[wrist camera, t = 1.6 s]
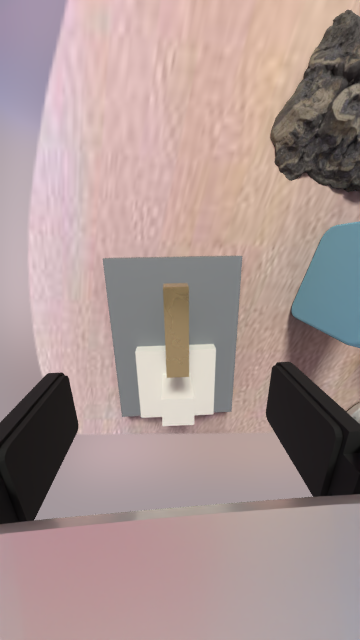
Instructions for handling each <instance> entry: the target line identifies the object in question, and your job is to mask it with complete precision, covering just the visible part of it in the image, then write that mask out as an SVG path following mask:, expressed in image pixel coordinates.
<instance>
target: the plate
mask: <svg viewBox="0 0 360 640" xmlns="http://www.w3.org/2000/svg"><path fill="white" fill-rule="evenodd" d="M103 265H104V273H105V281H106V290H107V298H108V306H109V314H110V322H111V330H112V338H113V346H114V355H115V363H116V371H117V379H118V387H119V395H120V403H121V412H122V417H127V416H141V411H140V400H139V389H138V377H137V366H136V355H135V351H136V348H137V347H140V346H165V326H164V302H163V284H167V283H187V284H188V286H189V345H198V344H214V346H215V348H216V361H215V387H214V412H231V410H232V396H233V381H234V367H235V353H236V339H237V324H238V310H239V296H240V281H241V267H242V256H196V257H141V258H105V259H103Z"/></svg>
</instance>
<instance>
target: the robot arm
mask: <svg viewBox="0 0 360 640" xmlns="http://www.w3.org/2000/svg"><path fill="white" fill-rule="evenodd" d="M266 417H267V420H268V422H269V423H270V425H271V427H272V428H273V430H274V432H275V434H276V435H277V437H278V439H279V440H280V442H281V444H282V445H283V447H284V448H285V450H286V452H287V454H288V455H289V457H290V459H291V460H292V462H293V464H294V465H295V467H296V469H297V470H298V472H299V474H300V475H301V477H302V479H303V480H304V482H305V484H306V485H307V487H308V489H309V490H310V492H311V494H312V495H313V497H305V498H292V499H279V500H266V501H253V502H240V503H228V504H215V505H204V506H192V507H180V508H167V509H155V510H144V511H132V512H121V513H111V514H99V515H88V516H76V517H65V518H54V519H44V520H35V521H34V519H35V517H36V515H37V513H38V511H39V509H40V507H41V505H42V503H43V501H44V499H45V497H46V495H47V493H48V491H49V489H50V487H51V485H52V482H53V480H54V478H55V476H56V474H57V472H58V470H59V468H60V466H61V464H62V462H63V460H64V457H65V456H66V454H67V452H68V450H69V448H70V446H71V444H72V442H73V439H74V437H75V435H76V433H77V431H78V420H77V416H76V411H75V406H74V401H73V397H72V392H71V387H70V382H69V378H68V376H65V375H64V374H63V373H48V374H47V375H46V376H45V377H44V378H43V379H42V380H41V381H40V382H39V383H38V384H37V385H36V386H35V387H34V388H33V389H32V390H31V391H30V392H29V393H28V394H27V395H26V396H25V398H24V399H22V401H21V402H20V403H19V404H18V405H17V406H16V407H15V408H14V409H13V410H12V411H11V412H10V413H9V414H8V415H7V416H6V417H5V418H4V419H3V420H2V421H1V422H0V640H360V402H359V403H358V404H356V405H355V406H353V407H352V408H351V409H349V410H348V411H347V412H346V411H345V410H344V409H343V408H341V407H340V406H339V405H338V404H337V403H336V402H335V401H334V400H333V399H331V398H330V397H329V396H328V395H327V394H326V393H325V392H324V391H322V390H321V389H320V388H319V387H318V386H317V385H316V384H315V383H314V382H312V381H311V380H310V379H309V378H308V377H307V376H306V375H305V374H304V373H302V372H301V371H300V370H299V369H298V368H297V367H296V366H295V365H293V364H292V363H291V362H278V363H276V365H275V366H273V367H272V372H271V379H270V387H269V394H268V401H267V408H266Z"/></svg>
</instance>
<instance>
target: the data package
mask: <svg viewBox="0 0 360 640" xmlns="http://www.w3.org/2000/svg"><path fill="white" fill-rule="evenodd" d="M292 315H293V316H294V317H295V318H297V319H299V320H301V321H302V322H304V323H306V324H308V325H310V326H312V327H314V328H316V329H318V330H320V331H322V332H324V333H326V334H328V335H329V336H331V337H333V338H335V339H337V340H339V341H341V342H343V343H345V344H347V345H350V346H354V347H358V348H360V222H354V223H348V224H341V225H336V226H333V227H331V228H330V229H329V230H328V231H327V232H326V233H325V234H324V235H323V237H322V239H321V241H320V243H319V245H318V248H317V250H316V252H315V254H314V257H313V259H312V261H311V264H310V266H309V268H308V270H307V273H306V275H305V277H304V279H303V282H302V284H301V286H300V289H299V291H298V293H297V295H296V298H295V300H294V302H293V305H292Z"/></svg>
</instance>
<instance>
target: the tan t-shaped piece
mask: <svg viewBox="0 0 360 640" xmlns="http://www.w3.org/2000/svg"><path fill="white" fill-rule="evenodd" d="M163 302H164V326H165V350H166V375H167V378H174V377H189V286H188V284H187V283H167V284H163Z"/></svg>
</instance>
